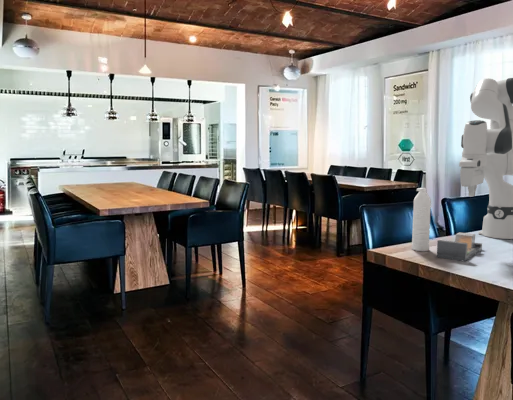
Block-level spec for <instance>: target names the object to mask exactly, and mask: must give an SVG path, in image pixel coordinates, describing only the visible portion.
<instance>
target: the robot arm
mask: <svg viewBox="0 0 513 400" xmlns="http://www.w3.org/2000/svg"><path fill="white" fill-rule="evenodd" d="M469 96H470V97H469V98H470V99H469V100H470V109H471V111H472V113H473V115H475V116H476V117H478V118H481V119H485V121H484V120H481V119H479V120H469V121H466V122H465V125H464V128H463V129H464V130H463V134H462V135H461V143H460V146H461V148H462V149H463V150H462V152H461V159H460V161H459V163H458V165H459V166H458V167H460V173H459V175H460V186H461V187H463V188H465V187H467V190H468V196H469V197H470V198H471V197H475V196H476V191H477V187H478V185H481V184H483V183H484V180H485V181H486V184H487V186H488V193H489V194H488V197H489V201H488V205H487V208H486V209H487V214H486V215H484V216H483V221H482V229H481V230H479V231H478V233H477V234H478V235H481V236H484V237H487V238H494V239H503V240H513V184H511V183H509V182H506V181H505V180H504V176H513V77H509V78H506V79H502V80H498V81H496V80H495V79H493V78H484V79H481V80H480V81H478V82H477V83H476V86H475V88H474V90H473V91H472V92H471V93H470V95H469ZM486 120H490V129H489V128H488V125H487V123H488V122H486Z"/></svg>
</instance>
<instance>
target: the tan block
mask: <svg viewBox="0 0 513 400" xmlns="http://www.w3.org/2000/svg"><path fill="white" fill-rule="evenodd" d="M454 242H460V243H468V244H467V248H469V249H472V248H473V247H475V243H476V234H475V233H467V232H457V233H455V240H454Z"/></svg>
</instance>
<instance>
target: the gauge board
mask: <svg viewBox="0 0 513 400" xmlns="http://www.w3.org/2000/svg"><path fill="white" fill-rule="evenodd" d="M436 243H437V247H436V257H437V258H440V259H447V260H455V261H460V262H466V261H467V260H469V259H471V258H473V256H475V255H477V253H479V252H480V251H482V250H483V243H480V242H475V247H473V248H472V249H469V248H467V244H468V243H460V242H455V241H450V240H443V239H442V240H441V239H438V240H437V242H436Z"/></svg>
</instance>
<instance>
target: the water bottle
mask: <svg viewBox="0 0 513 400" xmlns="http://www.w3.org/2000/svg"><path fill="white" fill-rule="evenodd" d="M416 192H418V193H417V194H416V195H415V197H414V199H413V212H412V213H413V214H412V232H411V235H412V238H411V250H413V251H416V252H428V251H429V250H430V234H431V233H430V229H431V226H430V224H431V210H432V209H431V208H432V207H431V206H432V199H431V197H430V196H429V194H428V193H427V188H426V187H418V188H416Z"/></svg>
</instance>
